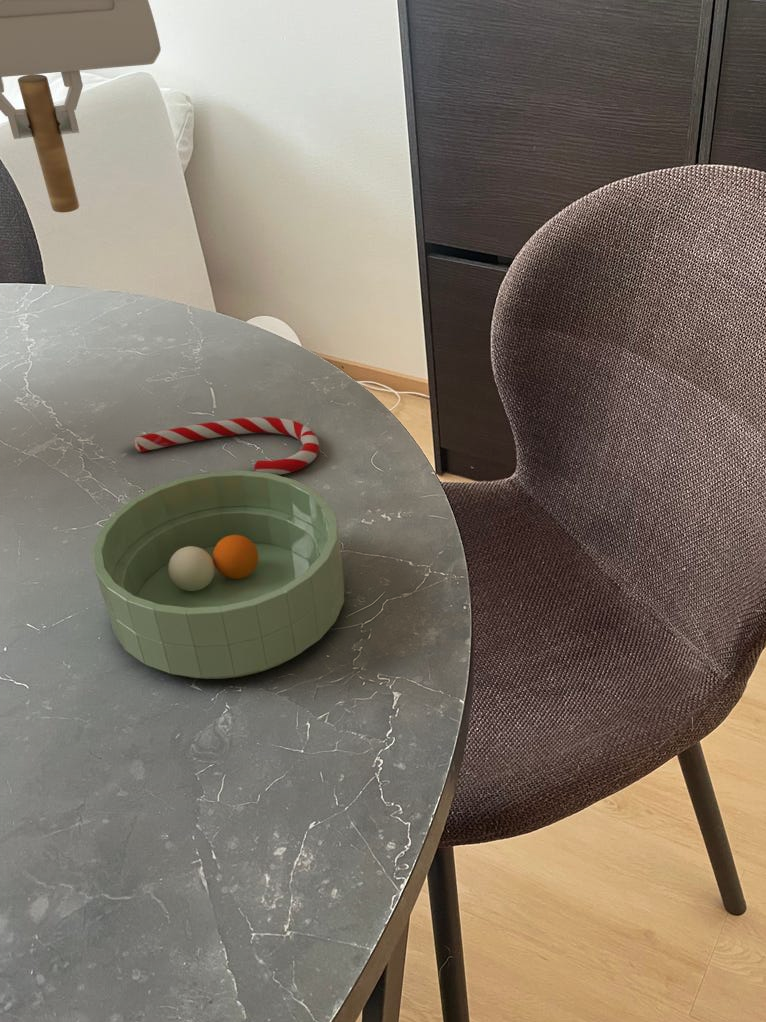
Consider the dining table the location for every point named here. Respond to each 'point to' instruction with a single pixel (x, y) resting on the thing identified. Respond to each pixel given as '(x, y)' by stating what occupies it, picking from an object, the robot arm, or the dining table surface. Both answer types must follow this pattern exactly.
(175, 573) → the cream ball
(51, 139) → the stirring stick
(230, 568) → the orange ball
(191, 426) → the candy cane
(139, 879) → the dining table surface
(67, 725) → the dining table surface
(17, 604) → the dining table surface
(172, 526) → the bowl
